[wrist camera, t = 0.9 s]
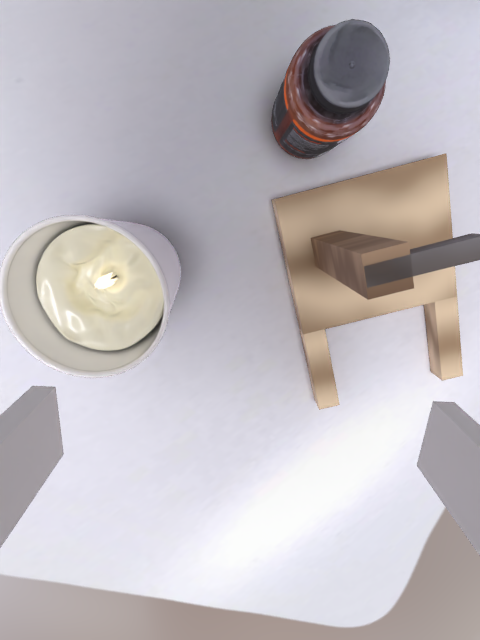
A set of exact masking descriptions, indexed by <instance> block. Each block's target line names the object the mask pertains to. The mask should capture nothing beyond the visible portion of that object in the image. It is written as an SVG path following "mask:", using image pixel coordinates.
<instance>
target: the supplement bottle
mask: <svg viewBox="0 0 480 640" xmlns="http://www.w3.org/2000/svg"><path fill="white" fill-rule="evenodd" d="M389 64H390V57H389V49H388V46H387V43H386V41H385V39H384V37H383V36H382V33H381V32H380V31H379V30H378V29H377V28H376V27H375V26H373V25H372V24H371V23H369V22H366V21H362V20H354V19H351V20H348V21H343V22H341V23H339V24H337V25H334V26H328V27H325V28H323V29H321V30H319V31H317V32H315V33H314V34H312V35H311V36H310V37H308V38H307V39H306V40H305V41H304V42H303V43H302V45H301V46H300V47H299V48H298V50H297V52H296V53H295V55H294V56H293V58H292V60H291V63H290V65H289V67H288V69H287V72H286V75H285V77H284V79H283V82H282V84H281V87H280V90H279V92H278V95H277V97H276V100H275V102H274V106H273V110H272V120H271V122H272V129H273V133H274V136H275V138H276V140H277V142H278V143H279V145H280V146H281V147H282V149H284V150H285V151H286V152H287V153H289V154H290V155H292V156H295V157H298V158H302V159H309V158H314V157H317V156H320V155H323V154H324V153H326V152H328V151H329V150H331V149H332V148H334V147H335V146H337V145H338V144H340V143H341V142H343V141H345V140H346V139H347V138H349V137H350V136H352V135H353V134H355V133H356V132H358V131H359V130H360V129H362V128H363V127H364V126H365V125H366V124H367V123H368V122H369V121H370V120H371V118H372V117H373V116H374V114H375V113H376V111H377V109H378V108H379V105H380V104H381V101H382V98H383V96H384V91H385V83H386V78H387V75H388V71H389Z"/></svg>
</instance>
